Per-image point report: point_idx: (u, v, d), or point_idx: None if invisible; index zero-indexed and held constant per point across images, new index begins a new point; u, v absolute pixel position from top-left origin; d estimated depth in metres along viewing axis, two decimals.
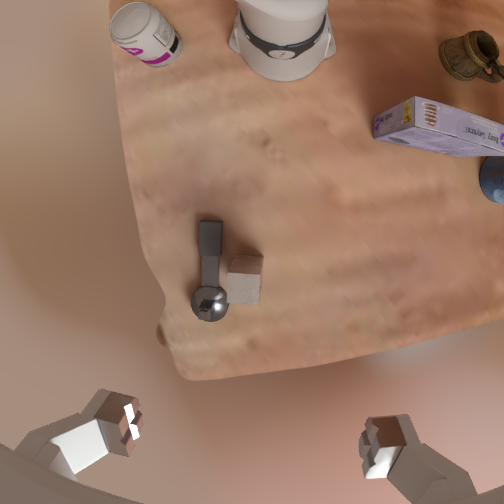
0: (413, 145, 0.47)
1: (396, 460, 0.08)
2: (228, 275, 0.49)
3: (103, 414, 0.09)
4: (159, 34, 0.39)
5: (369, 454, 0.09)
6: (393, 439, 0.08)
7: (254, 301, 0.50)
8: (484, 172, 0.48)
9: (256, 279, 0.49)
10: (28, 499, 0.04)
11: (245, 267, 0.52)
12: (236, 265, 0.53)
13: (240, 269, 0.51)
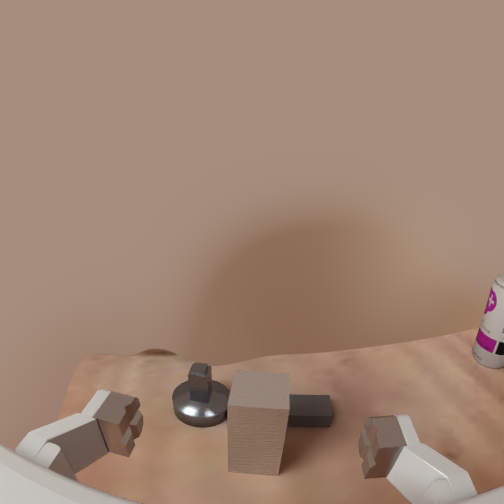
0: None
1: (396, 459, 0.08)
2: (284, 374, 0.28)
3: (103, 414, 0.09)
4: None
5: (369, 454, 0.09)
6: (393, 439, 0.08)
7: (235, 400, 0.24)
8: None
9: (280, 404, 0.24)
10: (28, 499, 0.04)
11: None
12: None
13: None
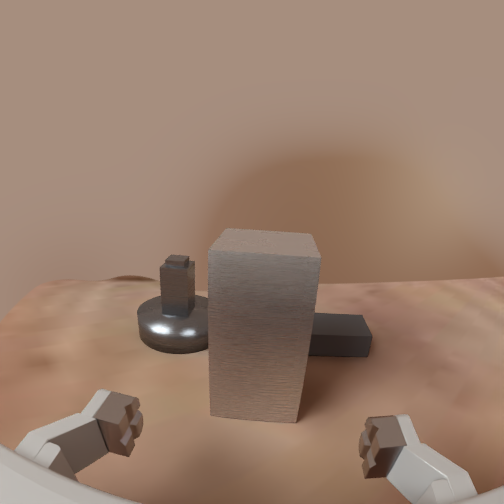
0: None
1: (396, 460, 0.08)
2: (303, 234, 0.19)
3: (103, 414, 0.09)
4: None
5: (369, 454, 0.09)
6: (393, 439, 0.08)
7: (223, 247, 0.15)
8: None
9: (303, 253, 0.15)
10: (28, 499, 0.04)
11: None
12: None
13: None
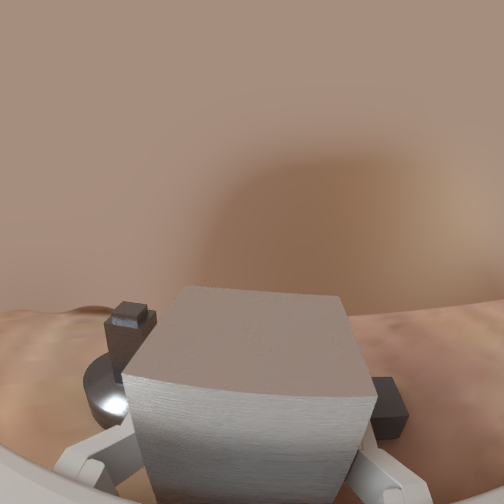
0: None
1: (353, 464, 0.08)
2: (326, 298, 0.10)
3: None
4: None
5: None
6: None
7: (158, 362, 0.06)
8: None
9: (336, 379, 0.06)
10: (28, 499, 0.04)
11: None
12: None
13: None
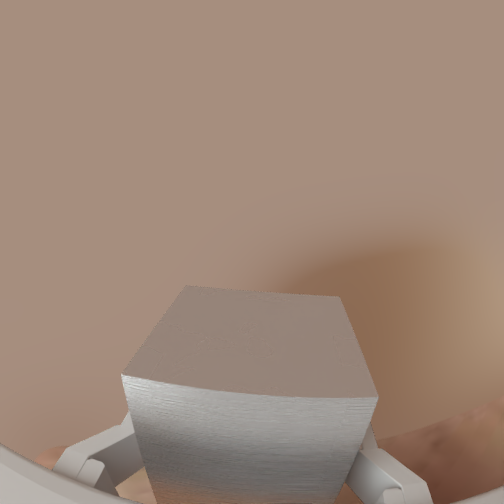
0: None
1: (353, 464, 0.08)
2: (326, 298, 0.10)
3: None
4: None
5: None
6: None
7: (158, 362, 0.06)
8: None
9: (337, 380, 0.06)
10: (28, 499, 0.04)
11: None
12: None
13: None
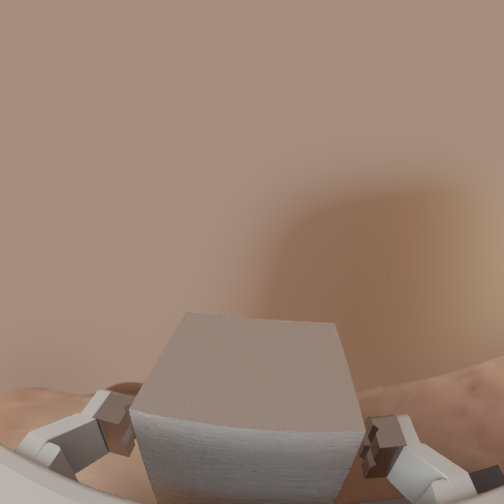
0: None
1: (396, 459, 0.08)
2: (322, 325, 0.10)
3: (103, 415, 0.09)
4: None
5: (369, 454, 0.09)
6: (393, 439, 0.08)
7: (162, 397, 0.06)
8: None
9: (328, 414, 0.06)
10: (28, 499, 0.04)
11: None
12: None
13: None
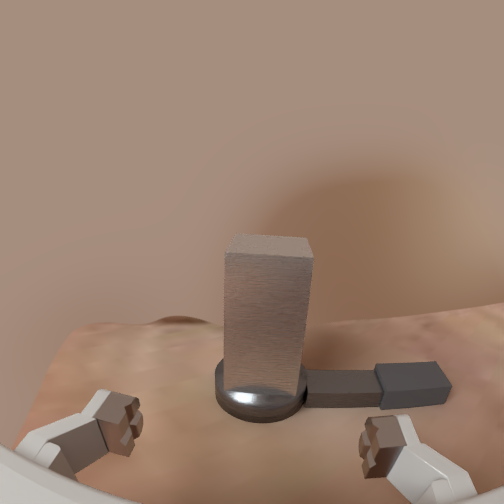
0: None
1: (396, 460, 0.08)
2: (300, 238, 0.23)
3: (103, 414, 0.09)
4: None
5: (369, 454, 0.09)
6: (393, 439, 0.08)
7: (236, 249, 0.19)
8: None
9: (299, 254, 0.19)
10: (28, 499, 0.04)
11: None
12: None
13: None
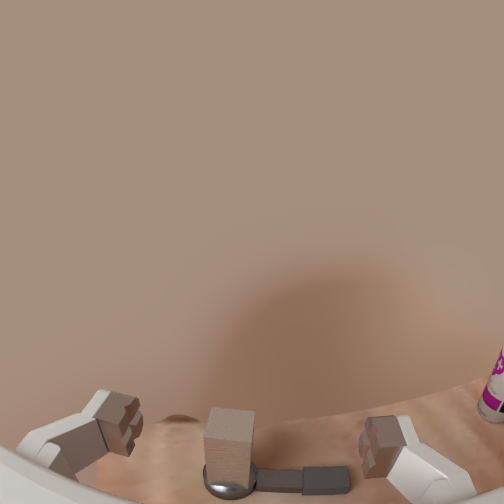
0: None
1: (396, 459, 0.08)
2: (251, 412, 0.34)
3: (103, 414, 0.09)
4: None
5: (369, 454, 0.09)
6: (393, 439, 0.08)
7: (210, 433, 0.30)
8: None
9: (244, 438, 0.29)
10: (28, 499, 0.04)
11: None
12: None
13: None
